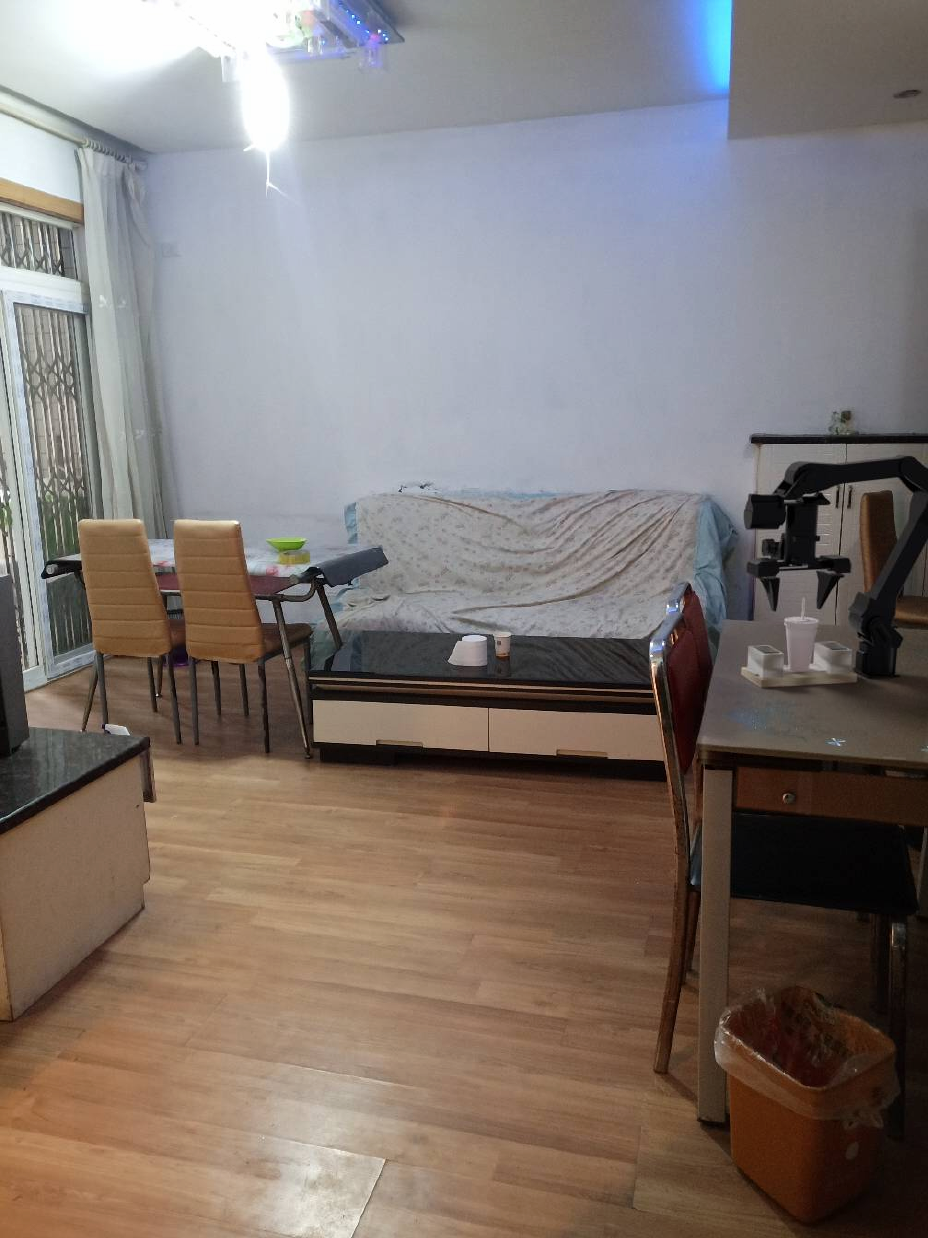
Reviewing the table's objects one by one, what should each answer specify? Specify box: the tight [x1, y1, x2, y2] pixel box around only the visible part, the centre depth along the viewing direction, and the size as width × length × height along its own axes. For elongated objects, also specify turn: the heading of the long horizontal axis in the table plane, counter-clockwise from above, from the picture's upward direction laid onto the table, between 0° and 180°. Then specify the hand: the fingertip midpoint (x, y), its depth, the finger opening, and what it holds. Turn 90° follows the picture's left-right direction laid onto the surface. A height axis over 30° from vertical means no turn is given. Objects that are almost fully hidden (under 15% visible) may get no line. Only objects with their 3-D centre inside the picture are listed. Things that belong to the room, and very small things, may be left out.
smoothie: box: [783, 596, 820, 672], centre depth 186 cm, size 6×6×14 cm
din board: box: [740, 641, 858, 689], centre depth 187 cm, size 19×9×6 cm, turn 97°
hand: (796, 610), depth 187 cm, fingers open, 9 cm apart
